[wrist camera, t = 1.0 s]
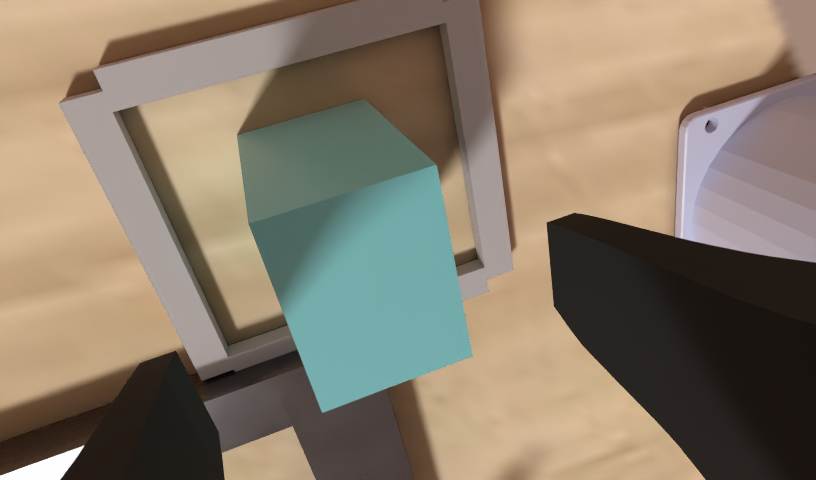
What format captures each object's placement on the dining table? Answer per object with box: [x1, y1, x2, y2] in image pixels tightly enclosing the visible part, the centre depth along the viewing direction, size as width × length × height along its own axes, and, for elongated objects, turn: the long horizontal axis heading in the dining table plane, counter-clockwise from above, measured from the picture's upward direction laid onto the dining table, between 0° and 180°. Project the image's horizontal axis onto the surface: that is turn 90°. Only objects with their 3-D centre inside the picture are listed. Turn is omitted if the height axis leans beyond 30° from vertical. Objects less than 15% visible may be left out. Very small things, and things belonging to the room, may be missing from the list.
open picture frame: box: [59, 0, 514, 381], centre depth 16 cm, size 11×10×1 cm
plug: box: [237, 99, 473, 413], centre depth 14 cm, size 4×5×6 cm
